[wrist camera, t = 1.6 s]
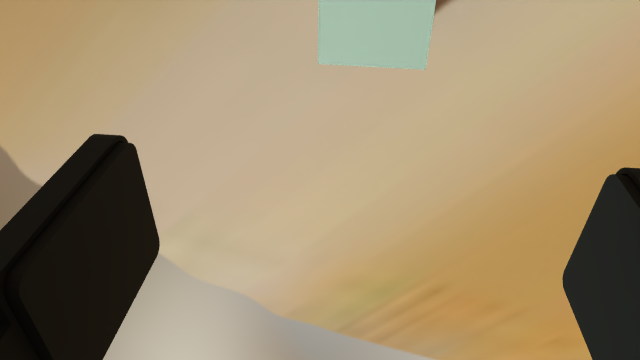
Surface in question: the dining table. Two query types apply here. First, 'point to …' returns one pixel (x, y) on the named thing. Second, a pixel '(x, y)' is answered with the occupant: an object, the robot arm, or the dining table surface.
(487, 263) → the dining table surface
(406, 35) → the sage block
